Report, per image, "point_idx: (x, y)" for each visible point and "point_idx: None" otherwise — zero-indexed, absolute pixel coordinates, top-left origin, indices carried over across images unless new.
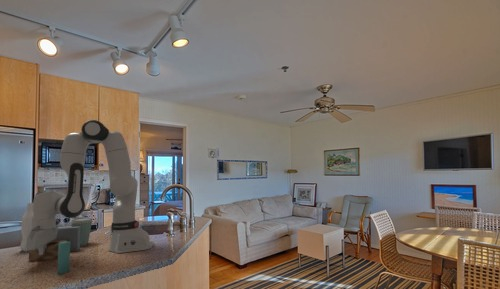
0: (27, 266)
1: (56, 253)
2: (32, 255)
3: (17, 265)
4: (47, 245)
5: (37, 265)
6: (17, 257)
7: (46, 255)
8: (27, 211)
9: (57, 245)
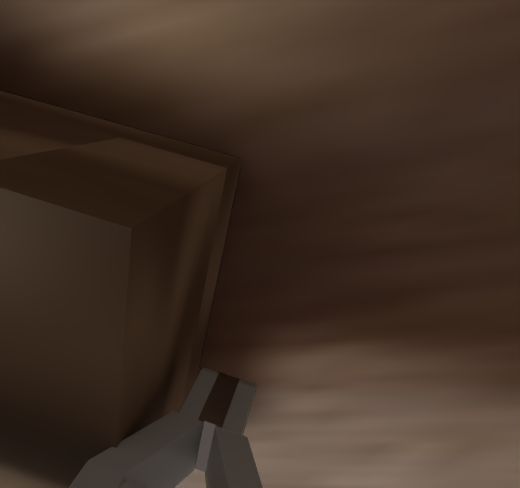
0: (382, 423)
1: (211, 192)
2: None
3: (281, 479)
4: (22, 427)
5: (417, 348)
6: None
7: (195, 318)
8: None
9: (83, 241)
